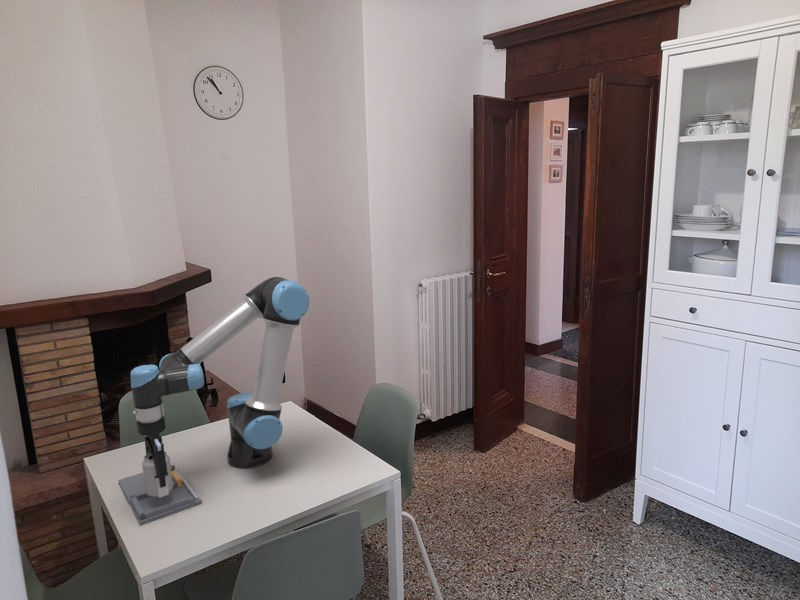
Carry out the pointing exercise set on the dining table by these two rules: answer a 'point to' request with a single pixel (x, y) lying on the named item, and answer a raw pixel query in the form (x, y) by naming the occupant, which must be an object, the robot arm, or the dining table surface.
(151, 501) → the housing
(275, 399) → the robot arm
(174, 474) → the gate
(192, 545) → the dining table surface
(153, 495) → the can
